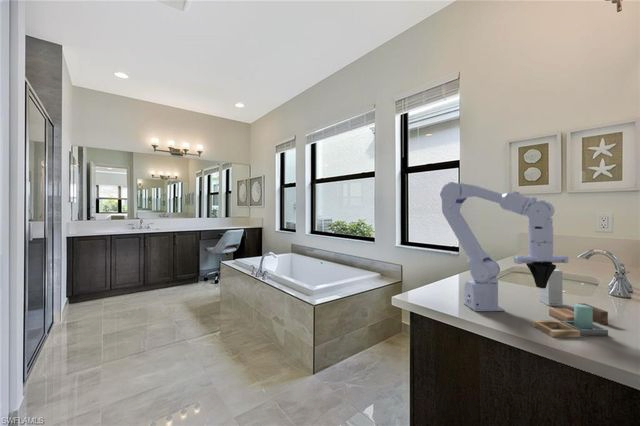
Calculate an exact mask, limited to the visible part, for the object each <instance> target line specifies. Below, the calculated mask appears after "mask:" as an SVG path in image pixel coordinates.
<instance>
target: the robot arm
mask: <svg viewBox="0 0 640 426" xmlns="http://www.w3.org/2000/svg"><path fill="white" fill-rule="evenodd" d="M439 196H440V199H441V212H442V214H443V216H444V219H446V221H447V223H448V224H449V226H450V228H451V230H452V231H453V233H454V236H455V237H456V239H457V240H458V242H459V244H460V245H461V248H462V249H463V251H464V253H465V254H466V256H467V265H468V266H469V267H468V268H469V272H470V275H471V278H472V280H468V281H466V282H465V283H464V301H463V304H464V305H466V306H467V307H469V308H470V309H472V311H474V312H505V308H503V307H501V306H499V281H498V280H499V279H498V278H497V276H498V275H500V272H501V267H500V265H499V263H498V262H497V261H496V260H494V259H493V258H492V257H491V256H490V254H488V253H487V252H486V251H485V250H484V249H483V248H482V246H481V244H480V243H479V241H478V239H477V238H476V236H475V235H474V233H473V231H472V229H471V228H470V226H469V224H468V223H467V221H466V220H465V218H464V216H463V214H462V213H461V211H460V210H461V208H462V206H463V203H464V202H465V201H466V200H467V199H468V198H474V197H476V198H479V199H482V200H483V199H484V200H487V201H490V202H494V203H497V204H499V206H500V208H501V209H502V210H505V211H508V212H510V213H515V214H518V215H520V216H523V217H524V216H525V217H527V218H528V229H527V230H528V254H527V255H526V254H525V255H517V256H516V255H515V256H513V263H514V264H517V265H522V264H526V266H527V267H528V269H529V271H530V273H531V275H532V277H533V280H534V284H535V287H536V288H538V289H539V288H546V286H547V283H548V280H549V278H550V276H551V274H552V272H553V271H554V270H555V269H557V265H556V264H557V263H558V264H569V256H568V255H567V256H566V255H555V254H554V226H553V222H554V220H553V216H554V214H555V207H554V205H553V204H552V203H550V202H548V201H546V200H538V197H536V196H532V197H530V196H525V195H523V194H520V192H519V191H516V190H515V191H508V192H505V193H501V192H497V191H494V190H492V189H489V188H485V187H483V186H479V185H475V184H467V183H463V182H460V183H459V182H453V181H449V182H446V183H445V184H444V185H443V186H442V188H441V191H440V194H439ZM537 200H538V201H537Z"/></svg>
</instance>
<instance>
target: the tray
mask: <svg viewBox="0 0 640 426" xmlns="http://www.w3.org/2000/svg"><path fill="white" fill-rule="evenodd" d="M560 322H562V323H564V324H566V325H568V326H571V327H573V328H575V329H577V330H579V331H580V337H608V336H609V330H608V329H607V328H605V327H602V326H600V325H598V324H596V323H595V324H594V323H593V329H579V328H577V327H574V321H560Z"/></svg>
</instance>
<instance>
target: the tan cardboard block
mask: <svg viewBox="0 0 640 426" xmlns="http://www.w3.org/2000/svg"><path fill="white" fill-rule="evenodd" d="M548 316H550V317H551V318H553V319H555V320H558V321H560V322H561V321H574V310H571V309H568V308H565V307H564V308H563V307H562V308H559V307H558V308H555V307H554V308H552V307H549V308H548Z"/></svg>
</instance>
